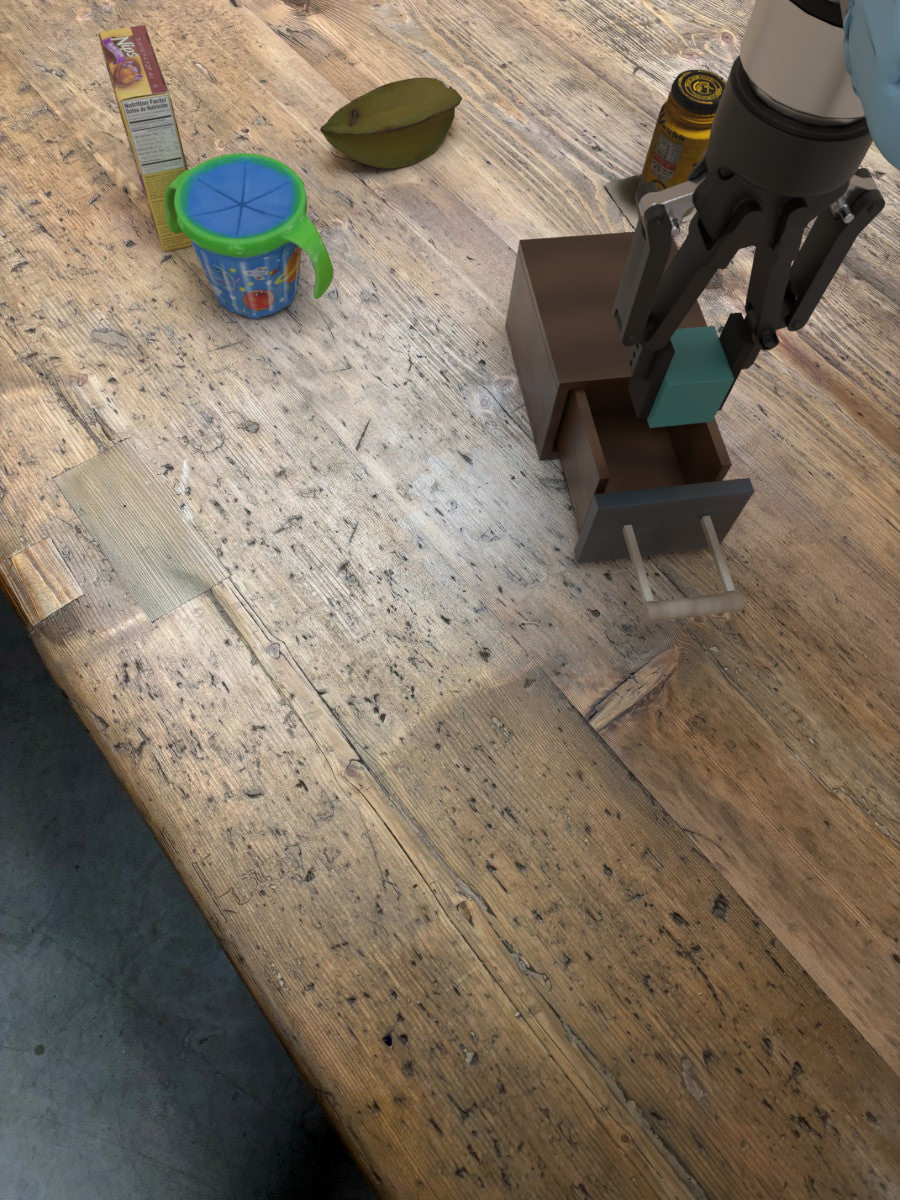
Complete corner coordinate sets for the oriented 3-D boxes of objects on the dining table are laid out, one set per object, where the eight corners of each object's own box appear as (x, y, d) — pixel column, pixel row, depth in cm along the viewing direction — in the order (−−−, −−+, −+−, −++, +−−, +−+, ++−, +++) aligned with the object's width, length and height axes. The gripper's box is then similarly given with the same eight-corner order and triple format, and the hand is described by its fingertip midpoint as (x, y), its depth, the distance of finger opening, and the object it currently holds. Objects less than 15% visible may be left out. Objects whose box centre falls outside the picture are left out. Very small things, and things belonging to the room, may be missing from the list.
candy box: (139, 189, 88) (95, 28, 75) (184, 181, 89) (149, 21, 76) (159, 254, 85) (116, 98, 71) (206, 245, 86) (173, 89, 72)
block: (712, 422, 64) (734, 379, 60) (649, 428, 63) (667, 385, 59) (694, 370, 66) (714, 325, 62) (632, 376, 65) (649, 331, 61)
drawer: (749, 635, 70) (790, 586, 63) (600, 654, 68) (625, 606, 61) (672, 409, 79) (700, 345, 72) (540, 422, 78) (555, 358, 71)
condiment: (712, 214, 92) (755, 101, 81) (638, 235, 90) (673, 122, 79) (675, 167, 95) (712, 52, 84) (602, 186, 93) (631, 70, 82)
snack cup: (149, 283, 83) (121, 187, 74) (228, 219, 87) (210, 120, 78) (285, 368, 80) (273, 277, 71) (361, 296, 84) (358, 203, 75)
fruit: (440, 196, 91) (444, 135, 85) (320, 172, 91) (316, 110, 85) (463, 122, 96) (468, 59, 90) (349, 100, 96) (347, 36, 90)
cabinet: (686, 445, 79) (723, 368, 70) (539, 461, 77) (559, 383, 68) (641, 315, 85) (670, 228, 77) (504, 326, 84) (519, 239, 75)
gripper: (954, 19, 46) (776, 346, 67) (613, 33, 44) (538, 367, 64) (1020, 119, 43) (811, 430, 63) (655, 140, 40) (562, 456, 61)
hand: (674, 398), depth 64 cm, fingers closed on block, 4 cm apart
